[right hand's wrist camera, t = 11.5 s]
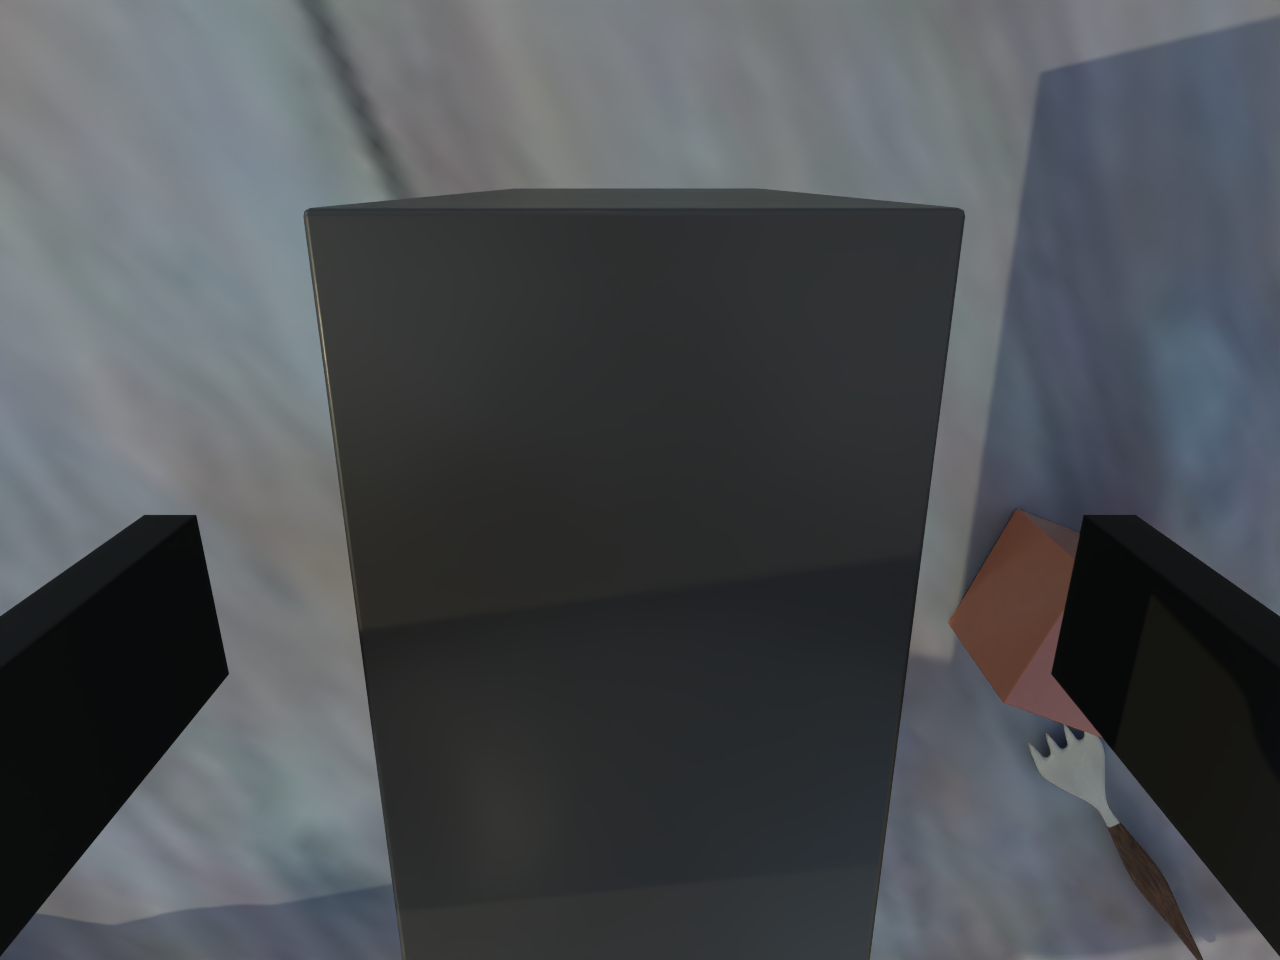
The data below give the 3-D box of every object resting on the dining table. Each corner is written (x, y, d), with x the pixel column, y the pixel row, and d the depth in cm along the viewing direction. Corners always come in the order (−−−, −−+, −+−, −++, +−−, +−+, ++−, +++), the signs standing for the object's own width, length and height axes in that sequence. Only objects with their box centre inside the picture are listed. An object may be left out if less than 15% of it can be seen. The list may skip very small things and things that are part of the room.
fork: (1165, 963, 37) (1193, 1006, 35) (1001, 714, 32) (1023, 747, 30) (1221, 937, 36) (1253, 979, 34) (1063, 680, 32) (1089, 712, 30)
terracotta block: (1016, 507, 29) (1087, 570, 25) (1136, 554, 30) (1229, 625, 25) (947, 623, 31) (1002, 703, 26) (1063, 666, 32) (1137, 751, 27)
